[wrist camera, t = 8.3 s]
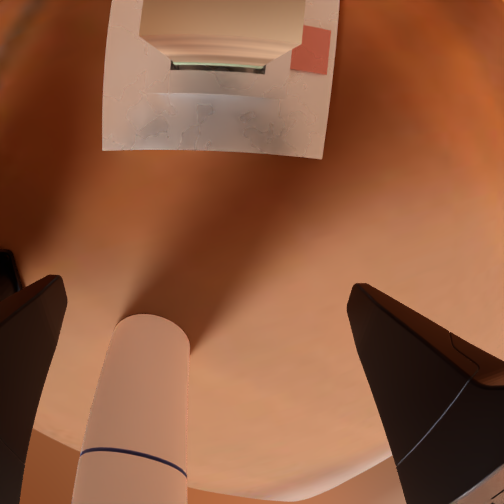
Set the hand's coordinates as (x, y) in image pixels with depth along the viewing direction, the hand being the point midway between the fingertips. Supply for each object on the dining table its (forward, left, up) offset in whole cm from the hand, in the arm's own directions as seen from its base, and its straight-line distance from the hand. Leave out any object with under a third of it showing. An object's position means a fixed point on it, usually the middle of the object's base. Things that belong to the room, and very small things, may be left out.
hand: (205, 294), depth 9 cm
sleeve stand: (+9, 0, -13) cm, 16 cm away
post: (+9, 0, -9) cm, 12 cm away
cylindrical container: (-15, +5, -13) cm, 21 cm away
